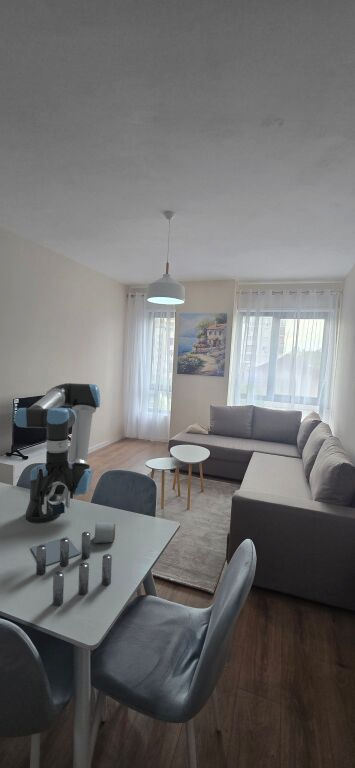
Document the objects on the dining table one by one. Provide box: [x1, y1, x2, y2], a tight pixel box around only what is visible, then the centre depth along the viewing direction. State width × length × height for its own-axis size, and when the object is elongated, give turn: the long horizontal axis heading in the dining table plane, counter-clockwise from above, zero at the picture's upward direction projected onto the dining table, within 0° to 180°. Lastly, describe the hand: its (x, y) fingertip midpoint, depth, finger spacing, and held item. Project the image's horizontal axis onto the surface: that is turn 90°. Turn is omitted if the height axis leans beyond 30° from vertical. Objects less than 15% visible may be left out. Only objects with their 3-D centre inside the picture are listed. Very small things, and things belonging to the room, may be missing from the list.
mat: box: [30, 536, 81, 567], centre depth 127 cm, size 14×14×1 cm
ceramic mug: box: [93, 521, 116, 544], centre depth 138 cm, size 11×8×8 cm
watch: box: [45, 482, 68, 516], centre depth 126 cm, size 6×8×11 cm
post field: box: [35, 531, 113, 607], centre depth 113 cm, size 20×19×9 cm
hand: (56, 509), depth 126 cm, fingers closed on watch, 8 cm apart
